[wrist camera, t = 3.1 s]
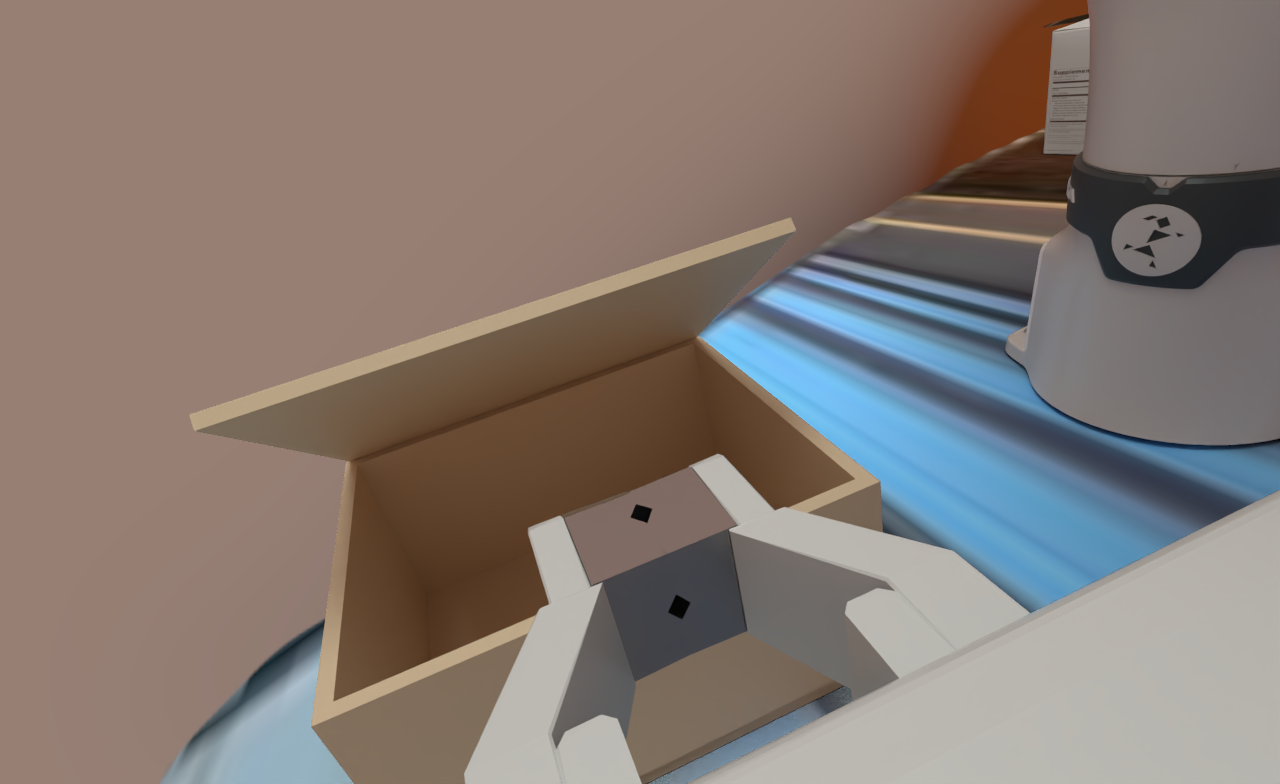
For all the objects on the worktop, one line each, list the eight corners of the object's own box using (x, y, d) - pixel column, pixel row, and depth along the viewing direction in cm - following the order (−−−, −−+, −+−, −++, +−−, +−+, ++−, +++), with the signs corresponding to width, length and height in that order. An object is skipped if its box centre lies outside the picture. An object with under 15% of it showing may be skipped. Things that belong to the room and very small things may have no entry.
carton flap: (796, 230, 22) (789, 214, 22) (194, 431, 18) (188, 411, 18) (696, 337, 37) (692, 328, 37) (350, 461, 33) (346, 450, 33)
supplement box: (1080, 136, 90) (1093, 15, 83) (1154, 137, 82) (1175, 3, 75) (1040, 154, 86) (1050, 29, 79) (1112, 157, 79) (1131, 19, 72)
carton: (888, 663, 28) (880, 481, 23) (434, 888, 24) (311, 726, 19) (725, 475, 42) (699, 336, 37) (420, 599, 38) (346, 462, 33)
